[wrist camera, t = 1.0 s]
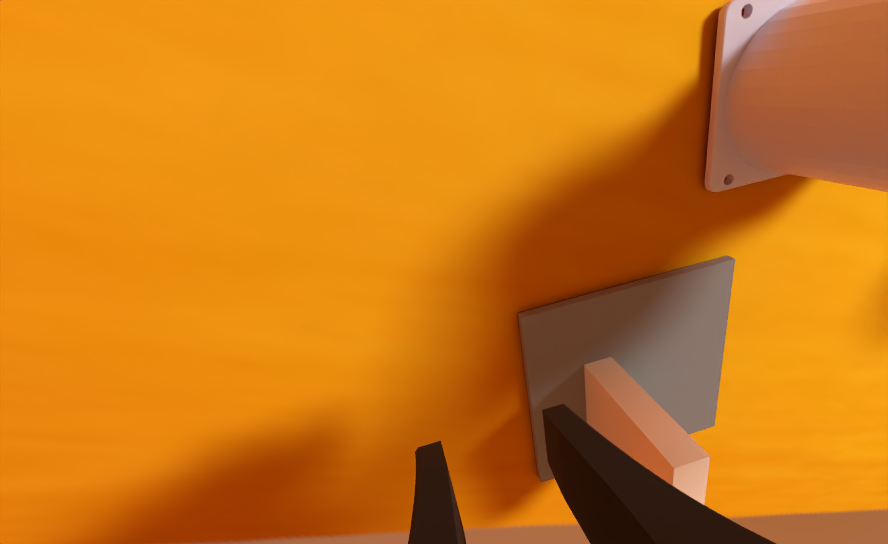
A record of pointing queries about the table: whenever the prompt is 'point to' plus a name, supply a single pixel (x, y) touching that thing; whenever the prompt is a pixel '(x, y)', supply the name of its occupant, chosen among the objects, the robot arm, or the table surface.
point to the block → (643, 428)
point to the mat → (633, 345)
